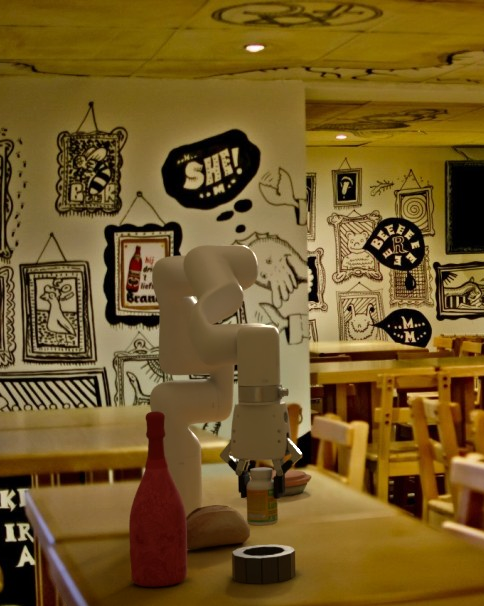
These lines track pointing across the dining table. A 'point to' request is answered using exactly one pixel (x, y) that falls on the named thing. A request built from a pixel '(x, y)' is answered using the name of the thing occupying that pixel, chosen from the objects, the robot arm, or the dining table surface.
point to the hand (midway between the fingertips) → (262, 496)
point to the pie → (294, 481)
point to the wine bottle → (157, 518)
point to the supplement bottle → (261, 498)
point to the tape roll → (263, 564)
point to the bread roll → (215, 527)
